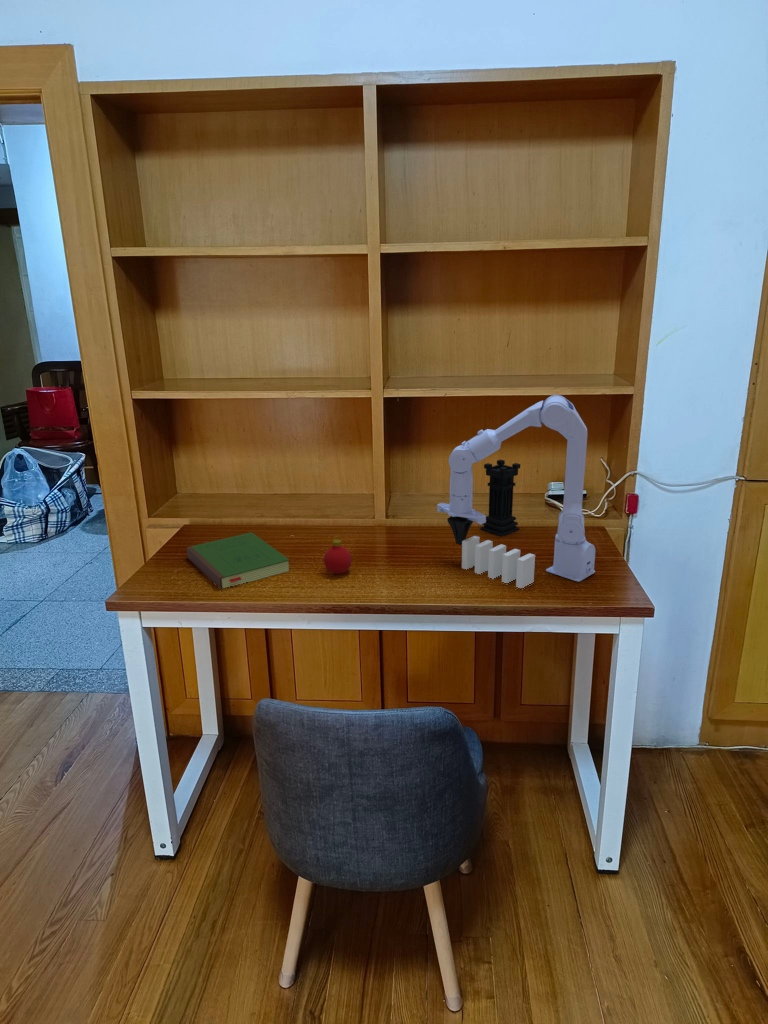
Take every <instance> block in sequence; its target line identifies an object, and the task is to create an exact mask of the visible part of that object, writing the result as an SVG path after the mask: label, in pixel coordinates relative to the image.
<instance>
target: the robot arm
mask: <svg viewBox="0 0 768 1024" xmlns="http://www.w3.org/2000/svg"><path fill="white" fill-rule="evenodd" d="M543 425H545V427H547V428H549V429H551V430H554V431H556V432H558V433H559V434H560V435H562V436H563V437H564V438H565V439H566V440H567V441H566V442H567V443H566V444H567V446H566V458H565V459H566V460H565V475H564V489H563V505H562V510H561V512H560V513H559V514H558V519H557V520H558V526H557V533H556V534H554V535H555V538H554V552H553V554H554V555H553V563H552V564H553V565H552V566H550V567H547V568H546V569H545V571H546V572H547V573H549V574H553V575H557V576H560V577H562V578H566V579H569V580H572V581H575V582H582V581H583V580H585V579H587V578H588V577H589V576H591V575H593V574H594V573H596V570H595V562H596V561H595V560H596V547H595V545H594V544H592V543H591V542H588V541H587V539H586V535H585V515H584V513H583V498H584V496H583V495H584V485H585V471H586V461H587V460H586V459H587V458H586V457H587V445H588V428H587V426H586V423H584V421H583V419H582V418H581V415H580V414H579V412H578V411H577V410H576V408H575V405H574V404H573V402H571V401H570V400H568V399H567V398H566V397H564V396H563V395H560V394H552V395H550V396H549V397H547V398H546V399H545V400H540V401H538V402H536V403H535V404H532V405H531V406H529V407H528V408H526V409H524V410H523V411H521V412H520V413H518V414H517V415H516V416H514V417H512V418H511V419H510V420H508V421H507V422H505V423H504V424H503V425H501V426H499V427H498V428H497V429H490V428H487V429H485V430H483V429H480V430H478V431H477V432H476V433H477V435H475V436H473V437H472V438H470V439H469V440H467V441H466V440H464V441H463V442H461V444H460V445H458V446H456V447H455V448H454V449H453V450H452V452H451V453H450V455H449V457H448V465H449V468H450V475H449V476H450V477H449V503H444V502H440V503H438V504H436V510H437V513H445V514H447V515H448V516H449V517H447V523H448V524H449V527H450V528H451V530H452V534H453V537H454V541H455V544H456V545H459V546H462V541H464V540H466V539H467V536H468V534H469V531H470V528H471V526H472V525H473V523H474V522H475V523H477V524H478V525H482V524H483V523H486V515H485V514H483V513H480V512H479V511H478V510H475V509H473V492H474V491H473V489H474V487H473V485H474V483H473V482H474V481H473V480H474V476H473V464H474V463H479V462H481V461H482V460H483V459H484V460H485V459H486V458H487V457H489V456H491V455H492V454H493V453H496V452H497V451H499V450H500V449H501V446H502V442H503V441H505V440H507V439H509V438H510V437H512V436H514V435H516V434H518V433H520V432H521V431H523V430H524V429H527V428H528V427H536V428H542V426H543Z"/></svg>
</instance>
